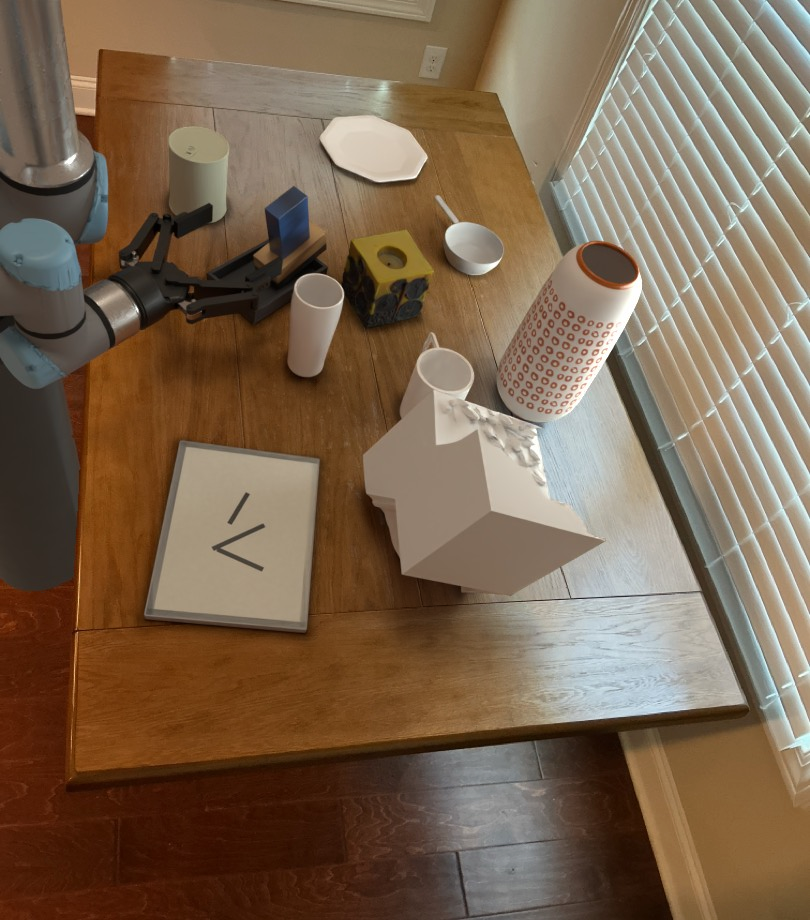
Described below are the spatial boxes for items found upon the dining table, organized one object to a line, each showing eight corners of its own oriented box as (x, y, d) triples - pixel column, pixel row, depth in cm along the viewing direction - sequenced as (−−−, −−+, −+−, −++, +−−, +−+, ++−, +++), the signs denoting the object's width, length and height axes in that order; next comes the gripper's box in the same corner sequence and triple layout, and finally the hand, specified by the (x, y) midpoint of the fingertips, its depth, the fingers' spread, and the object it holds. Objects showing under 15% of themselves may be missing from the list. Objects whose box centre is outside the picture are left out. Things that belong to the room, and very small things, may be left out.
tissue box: (349, 460, 100) (463, 348, 83) (446, 487, 108) (567, 390, 91) (357, 604, 89) (490, 510, 72) (464, 622, 97) (606, 541, 80)
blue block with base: (278, 290, 117) (271, 233, 105) (255, 271, 118) (245, 213, 106) (326, 249, 121) (325, 190, 109) (304, 232, 122) (300, 171, 110)
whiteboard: (143, 619, 84) (143, 615, 83) (180, 444, 98) (180, 439, 97) (305, 633, 88) (306, 629, 87) (318, 462, 102) (319, 458, 101)
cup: (439, 372, 116) (457, 327, 108) (459, 435, 110) (481, 392, 102) (388, 373, 113) (404, 327, 105) (406, 438, 107) (424, 394, 99)
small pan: (461, 285, 129) (468, 268, 126) (406, 217, 136) (412, 200, 133) (508, 272, 134) (516, 255, 131) (454, 207, 141) (460, 190, 138)
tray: (253, 324, 113) (255, 311, 111) (206, 285, 115) (206, 272, 113) (326, 278, 122) (328, 266, 120) (280, 243, 124) (282, 231, 122)
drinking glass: (289, 386, 108) (302, 311, 96) (276, 350, 111) (287, 274, 99) (333, 379, 110) (352, 306, 98) (319, 345, 113) (335, 270, 101)
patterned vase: (475, 371, 118) (543, 228, 96) (547, 363, 123) (628, 225, 100) (507, 440, 112) (589, 303, 89) (582, 428, 117) (677, 296, 94)
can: (158, 210, 121) (155, 144, 112) (185, 180, 127) (185, 115, 117) (210, 232, 122) (213, 167, 112) (235, 201, 127) (240, 138, 117)
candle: (392, 275, 126) (406, 227, 118) (421, 317, 122) (437, 271, 114) (338, 285, 122) (349, 236, 114) (365, 330, 117) (379, 282, 109)
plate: (343, 110, 150) (344, 103, 149) (434, 148, 150) (436, 141, 149) (305, 159, 138) (306, 152, 137) (404, 200, 138) (406, 193, 137)
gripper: (60, 271, 100) (182, 211, 112) (193, 383, 95) (306, 307, 107) (52, 226, 94) (182, 168, 106) (193, 343, 89) (314, 267, 101)
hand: (245, 238), depth 106 cm, fingers open, 13 cm apart
